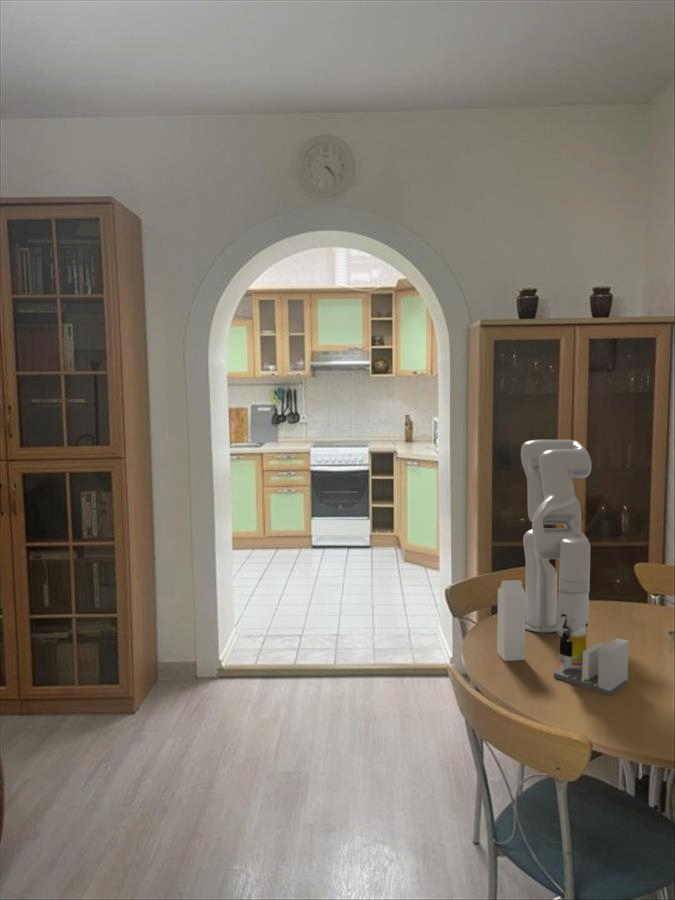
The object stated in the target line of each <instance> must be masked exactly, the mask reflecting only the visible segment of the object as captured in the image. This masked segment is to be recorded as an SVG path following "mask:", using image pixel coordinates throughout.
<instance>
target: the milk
mask: <svg viewBox="0 0 675 900" xmlns="http://www.w3.org/2000/svg"><path fill="white" fill-rule="evenodd" d="M500 583H501V586H500V587H499V588H497V633H496V634H497V638H496V639H497V641H496V642H497V643H496V644H497V645H496V654H497V655H499V657H500V658H501V659H502V660H503V662H509V661H511V662H514V661H515V662H516V661H526V659H525V657H526V653H525V652H526V629H525V605H526V591H525V590H524V586H523V581H522V580H521V579H520V580H519V579H517V580H514V579H513V580H502V581H501V582H500Z"/></svg>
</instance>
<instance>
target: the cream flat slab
mask: <svg viewBox="0 0 675 900" xmlns="http://www.w3.org/2000/svg"><path fill="white" fill-rule="evenodd" d="M605 644H606V643H605V642H600V641H599V642H596V644H593V645H592V646H590V647H588V648H586V650H584V651H583V664H582V678H581V680H582V681H584V680H589V679H591V678H592V677H594V676H596V675H597V674H598V665H599V648H600V647H602V646H604V645H605Z"/></svg>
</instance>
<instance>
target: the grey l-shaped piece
mask: <svg viewBox="0 0 675 900" xmlns="http://www.w3.org/2000/svg"><path fill="white" fill-rule="evenodd" d="M629 642H630V641H629V640H626V639H622V638H619V637H616V638H615V639H613V640H611V641H609V642H607V643H604V644H605V645H604V646H602V647H600V648H599V665H598V674H597V675H596V676H594V677H592V678H591V679H589V680H584V681H582V680H581V678H582V668H579V669H573V668H568V667H565V666H563V667H561V668H560V669H558V670H556V671H555V672H553V678H555V679H558V680H561V681H564V682H566V681H567V683H569V682H570V683H569V684H572V683H573V684H572V685H576V686H579V687H582V688H585V689H588V690H591V691H594V692H597V693H600V694H603V695H606V696H609V697H610V696H612V695H613V694H615V693H616V692H617V691H619V690H621V689H622V688H623V687H625V686H626V685H628V679H629V678H628V677H629V676H628V674H629V644H630V643H629Z"/></svg>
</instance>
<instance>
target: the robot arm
mask: <svg viewBox="0 0 675 900" xmlns="http://www.w3.org/2000/svg"><path fill="white" fill-rule="evenodd" d="M520 448H521V449H520V461H521V464H522V468H523V471H524V473H525V476H526V479H527V480H526V483H527V484H526V485H527V516H528V519H529V521H530V522H531V529H529V530H527V531H526V532H525V533H524V535H523V538H522V540H523V541H522V543H523V551H524V557H525V559H524V560H525V594H526V605H525V630H527V631H530V632H535V633H543V634H548V633H555V632H556V634H557V637H558V640H559V648H560V654H562V655H565V656H568V657H571V656H572V642H571V637H572V633H573V631H575V630H577V629H579V628H580V626H581V627H584V628H585V629H586V634H587V633H588V630H587V628H588V625H589V621H590V618H591V617H590V616H591V615H590V598H589V596H590V595H589V594H590V583H591V582H590V580H591V579H590V577H591V575H590V574H591V543H590V540H589V538H588V537H587V536H586V534H584V533H583V532H582V509H581V504H580V501H579V499H578V498H577V497H576V494H575V493H576V492H575V487H574V483H573V479H575V478H576V479H584V478H587V477H589V475H590V474H591V471H592V459H591V457H590V454H589V452H588V450H587V449H586V448H585V447H584V446H583V445H582V444H581V443H580V442H579V441H577V440H574V439H533V440H528V441H525V442H524V443H522V445H521V447H520ZM544 525H563V526H564V527H563V528H546V527H545V528H544ZM550 560H559V568H558V569H559V574H558V573H557V570H556V569H555V567H554V566H553V564H552V563H551V562H550ZM558 575H559V576H558ZM557 585H558V586H557ZM558 590H559V591H558ZM581 621H582V624H580V623H581ZM565 626H567V627H569V629H566V628H565ZM564 631H567V632H568V636H567V635H566V633H564Z"/></svg>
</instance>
